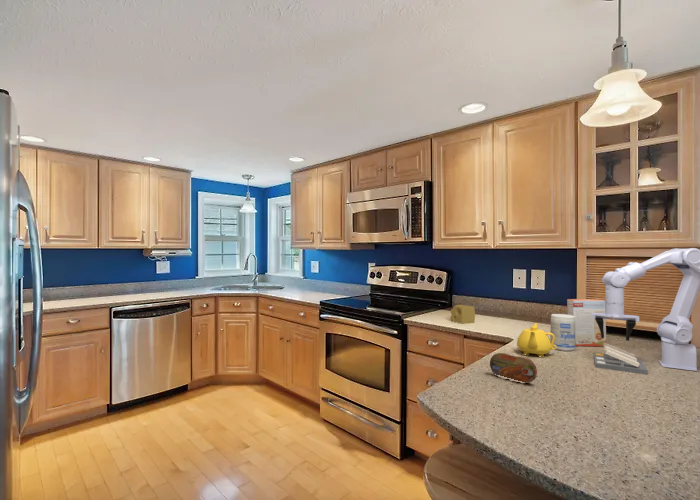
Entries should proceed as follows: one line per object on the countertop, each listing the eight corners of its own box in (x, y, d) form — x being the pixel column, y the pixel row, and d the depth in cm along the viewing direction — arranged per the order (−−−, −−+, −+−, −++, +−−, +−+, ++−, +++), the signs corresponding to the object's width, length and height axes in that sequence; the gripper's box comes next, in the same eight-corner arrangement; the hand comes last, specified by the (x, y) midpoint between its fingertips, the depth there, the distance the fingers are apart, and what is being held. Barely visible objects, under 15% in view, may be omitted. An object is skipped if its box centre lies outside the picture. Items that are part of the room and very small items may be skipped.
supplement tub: (563, 352, 154) (563, 317, 154) (545, 346, 163) (545, 314, 163) (581, 350, 157) (580, 316, 157) (562, 345, 166) (562, 313, 166)
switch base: (640, 362, 139) (640, 354, 139) (647, 374, 126) (647, 365, 126) (593, 356, 147) (593, 348, 147) (595, 367, 134) (595, 358, 134)
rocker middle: (634, 361, 135) (636, 358, 135) (635, 362, 133) (637, 359, 132) (604, 348, 140) (605, 345, 140) (604, 349, 138) (605, 347, 137)
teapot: (556, 363, 139) (556, 333, 139) (514, 357, 146) (513, 329, 147) (557, 351, 156) (557, 324, 156) (519, 346, 164) (519, 321, 164)
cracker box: (598, 343, 168) (598, 298, 168) (606, 347, 162) (606, 300, 162) (567, 343, 170) (566, 298, 170) (573, 346, 164) (573, 300, 164)
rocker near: (637, 365, 130) (638, 362, 130) (638, 367, 128) (639, 364, 127) (605, 352, 135) (606, 349, 134) (605, 353, 133) (606, 350, 132)
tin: (489, 375, 125) (489, 351, 126) (494, 373, 128) (493, 349, 128) (534, 387, 114) (534, 360, 114) (538, 385, 116) (538, 358, 116)
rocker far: (632, 357, 140) (633, 354, 140) (633, 358, 138) (634, 355, 137) (602, 345, 145) (604, 342, 145) (603, 346, 143) (604, 343, 142)
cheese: (450, 321, 225) (450, 305, 225) (463, 320, 229) (463, 304, 229) (462, 324, 215) (461, 307, 215) (475, 322, 220) (475, 306, 220)
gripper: (592, 302, 138) (592, 338, 138) (640, 305, 131) (640, 343, 131) (591, 300, 144) (591, 335, 144) (637, 303, 137) (637, 339, 137)
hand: (614, 338), depth 138 cm, fingers open, 7 cm apart
